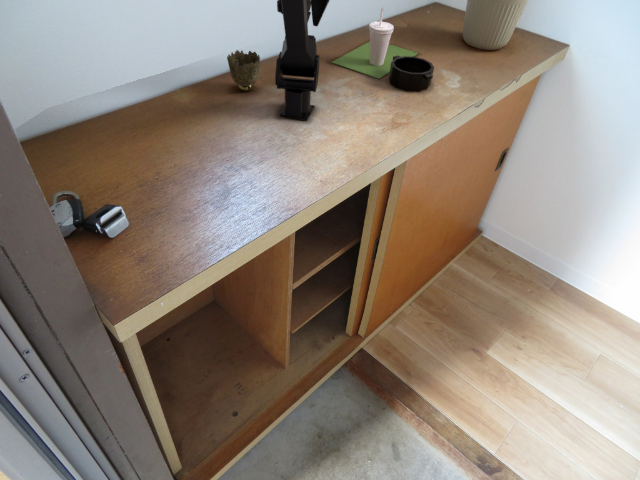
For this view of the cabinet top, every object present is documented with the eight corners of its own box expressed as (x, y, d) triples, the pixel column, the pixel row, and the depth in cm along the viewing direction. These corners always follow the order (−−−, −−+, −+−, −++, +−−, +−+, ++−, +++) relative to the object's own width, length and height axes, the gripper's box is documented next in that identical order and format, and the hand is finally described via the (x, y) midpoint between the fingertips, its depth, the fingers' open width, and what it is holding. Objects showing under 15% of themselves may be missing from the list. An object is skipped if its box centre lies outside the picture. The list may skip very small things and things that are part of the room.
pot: (410, 97, 107) (414, 79, 104) (377, 75, 115) (379, 58, 112) (441, 88, 111) (446, 71, 108) (407, 68, 119) (411, 51, 116)
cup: (264, 83, 108) (262, 51, 103) (258, 97, 103) (256, 64, 98) (234, 81, 109) (231, 48, 103) (227, 95, 104) (223, 61, 98)
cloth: (379, 79, 113) (379, 78, 113) (331, 63, 119) (331, 61, 119) (418, 54, 126) (418, 52, 126) (373, 40, 132) (373, 39, 132)
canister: (452, 50, 129) (473, -32, 114) (454, 29, 142) (473, -47, 127) (516, 59, 127) (546, -23, 112) (511, 37, 139) (538, -40, 124)
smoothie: (359, 61, 120) (366, 5, 110) (376, 56, 123) (384, 1, 113) (376, 70, 117) (384, 13, 107) (393, 64, 120) (402, 8, 110)
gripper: (292, -62, 98) (293, 12, 109) (251, -38, 86) (257, 42, 98) (339, -54, 95) (334, 21, 107) (303, -29, 84) (303, 52, 95)
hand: (307, 33), depth 102 cm, fingers open, 9 cm apart
